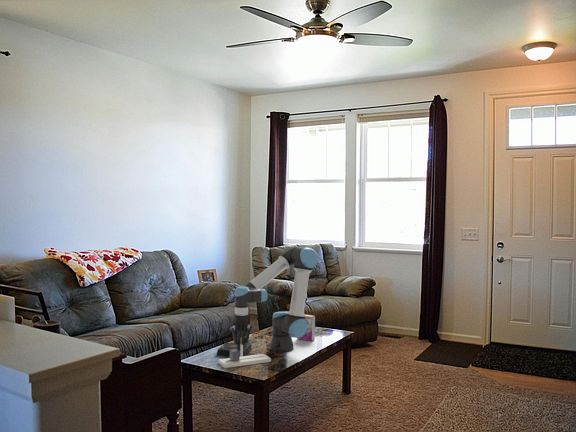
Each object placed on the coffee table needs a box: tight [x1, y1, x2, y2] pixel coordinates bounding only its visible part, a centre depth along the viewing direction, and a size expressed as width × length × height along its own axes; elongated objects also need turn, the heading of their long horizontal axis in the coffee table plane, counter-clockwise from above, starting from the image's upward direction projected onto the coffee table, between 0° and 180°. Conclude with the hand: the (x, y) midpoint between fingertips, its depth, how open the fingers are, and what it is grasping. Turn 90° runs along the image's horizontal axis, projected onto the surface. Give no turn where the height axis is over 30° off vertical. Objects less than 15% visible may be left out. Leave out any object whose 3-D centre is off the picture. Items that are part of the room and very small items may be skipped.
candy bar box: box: [296, 314, 316, 342], centre depth 344 cm, size 11×5×16 cm, turn 63°
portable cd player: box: [216, 342, 252, 357], centre depth 311 cm, size 16×17×4 cm
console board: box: [218, 353, 272, 369], centre depth 291 cm, size 28×10×2 cm, turn 118°
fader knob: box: [229, 349, 240, 361], centre depth 288 cm, size 4×5×5 cm
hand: (240, 355), depth 290 cm, fingers closed
